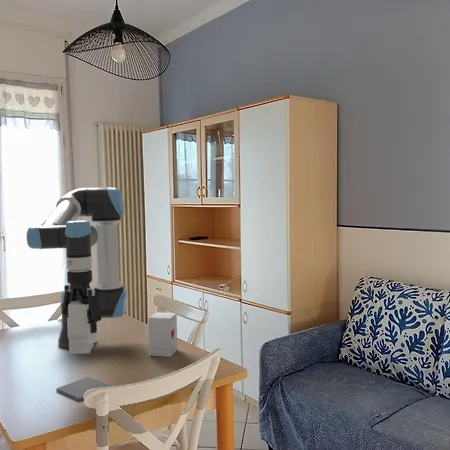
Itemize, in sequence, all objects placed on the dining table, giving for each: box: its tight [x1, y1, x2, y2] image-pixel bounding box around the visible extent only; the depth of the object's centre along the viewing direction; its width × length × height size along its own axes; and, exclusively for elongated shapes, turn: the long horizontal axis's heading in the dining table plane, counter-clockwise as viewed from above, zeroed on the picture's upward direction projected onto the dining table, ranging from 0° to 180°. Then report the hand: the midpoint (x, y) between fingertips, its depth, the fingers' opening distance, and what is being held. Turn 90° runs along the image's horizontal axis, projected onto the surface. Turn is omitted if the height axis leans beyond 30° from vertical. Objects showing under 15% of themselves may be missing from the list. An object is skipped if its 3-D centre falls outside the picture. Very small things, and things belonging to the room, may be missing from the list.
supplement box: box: [148, 312, 178, 358], centre depth 187 cm, size 9×9×15 cm
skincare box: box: [68, 300, 95, 355], centre depth 152 cm, size 8×7×16 cm
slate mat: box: [55, 376, 112, 402], centre depth 154 cm, size 12×12×1 cm
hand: (82, 339), depth 152 cm, fingers closed on skincare box, 10 cm apart
